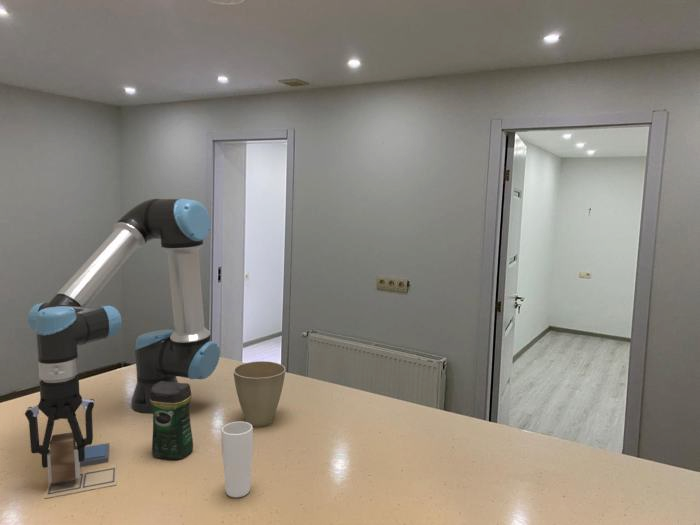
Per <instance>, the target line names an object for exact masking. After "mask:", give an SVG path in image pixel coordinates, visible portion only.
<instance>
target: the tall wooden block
mask: <svg viewBox="0 0 700 525" xmlns="http://www.w3.org/2000/svg"><path fill="white" fill-rule="evenodd" d="M75 445H77V444H76V442H75V439H74V436H73V433H72V431H71V432H67V433H59V434H52V435H51V440H50V444H49V450H50V458H51V475H52V487H56V486H61V485H67V484H72V483H75V482H76V476H75V458H74V449H75Z"/></svg>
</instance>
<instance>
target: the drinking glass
mask: <svg viewBox="0 0 700 525" xmlns="http://www.w3.org/2000/svg"><path fill="white" fill-rule="evenodd" d="M253 428H254V426H252V425H251V424H250V423H247V422H246V421H232V422H229V423H226V424H225V425H223V426H222V428H221V453H222V454H221V455H222V463H223V473H224V481H225V493H226V494H227V496H229V497H230V498H242V497H244V496H247V495H248V494H249V492H250V490H251V476H252V474H251V472H252V466H253V465H252V462H253V450H254V432H253V431H254V430H253Z"/></svg>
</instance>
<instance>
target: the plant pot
mask: <svg viewBox="0 0 700 525" xmlns="http://www.w3.org/2000/svg"><path fill="white" fill-rule="evenodd" d="M232 372H233V373H232V374H233V379H234V386H235V389H236V390H235V391H236V395H237V398H238V402H239V405H240V408H241V411H242V414H243V417H244V419H245V422H247V423H250V424H251V425H252V427H257V428H259V427H260V428H261V427H266V426H268V425H270V424H271V423H272V422H273V420H274V417H275V415H276V413H277V412H276V411H277V409H278V406H279V402H280V399H281V395H282V391H283V386H284V381H285V374H286V367H285V365H283V364H281V363H278V362H274V361H266V360H265V361H264V360H261V361H260V360H258V361H257V360H256V361H250V362H244V363H242V364H239V365H237V366H236V367H234V368H233V370H232Z"/></svg>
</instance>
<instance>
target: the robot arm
mask: <svg viewBox="0 0 700 525" xmlns="http://www.w3.org/2000/svg"><path fill="white" fill-rule="evenodd" d="M112 229H113V231H112V232H111V234H109V236H108V237H107V238H106V239H105V240H104V241H103V242H102V244H101V245H100V246H99V247H98V248H97V249H96V250H95V251H94V252H93V253H92V255H90V257H89V258H88V259H87V260H86V261H85V262H84V263H83V264H82V265H81V266H80V268H79V269H78V270H77V271H76V272H75V273H74V275H73V276H71V277H70V278H69V280H68V281H67V282H66V283H65V284H64V286H62V287H61V289H60V290H59V291H58V292H57V293H56V294H55V295H54V296H53V298H51V299H50V300H49V302H48V301H46V302H41V303H37V304H35V305H34V306H31V308H30V310H29V311H28V314H27V324H28V326H29V327H30V328H31V330H32V331H34V332H35V334H36V347H37V357H38V358H37V359H38V360H37V361H38V379H39V380H40V381H39V395H40V400H39V402H38V404H37V405H34V406H29V407H27V409H26V410H25V413H24V415H25V417H26V419H27V421H28V428H29V439H30V440H29V441H30V452H31V454H32V455H34V454H40V456H41V466H42V469H46V468H47V474H48V475H47V476H48V478H47V479H48V484H49V483H52V475H51V458H50V441H51V438H52V435H53V431H54V425H55V421H58V420H62V419H64V420H66V419H67V422H68V425H69V427H70V429H71V432H72V433H73V436H74V439H75V442H76V445H75V449H74V458H75V476H76V478H79V477H80V472H81V467H80V462H82V461H84V459H85V447H88V446H92V444H93V440H94V439H93V438H94V432H93V431H94V429H93V427H94V424H93V409H94V407H95V402H96V401H95V399H93V398H90V399H84V398H83V396H82V395H81V394H80V378H79V375H78V374H79V358H78V357H79V356H78V346H82V345H86V344H88V343H93V342H95V341H99V340H102V339H107V338H109V337H111V336H114V335H116V334H118V333H119V331H120V330H121V327H122V321H123V320H122V316H121V314H120V312H119V310H118V309H117V308H116V307H114V306H111V305H100V306H98V307H88V306H89V305H90V304H91V303H92V301H94V299H95V297H97V296H98V295H99V293H100V292H101V291H102V290H103V288H104V287H105V286H106V285H107V283H109V281H110V280H111V279H112V278H113V276H114V275H115V274H116V273H117V272H118V271H119V270H120V268H121V267H122V266H123V265H124V264H125V262H126V261H127V260H129V258H130V257H131V255H133V253H134V252H135V251H136V250H137V249H141V248H143V247H144V245H145V244H146V243H147V242H149V241H152V240H155V239H159V240H160V246H161V249H163V251H165V253H167V264H168V270H169V283H170V284H169V285H170V293H171V304H172V305H171V306H172V315H173V326H174V330H173V329H160V330H154V331H150V332H146V333H142V334H140V335H139V336H137V337H136V340H135V348H134V351H135V366H136V368H135V369H136V370H135V371H136V384H135V388H134V391H133V393H132V394H133V395H132V398H131V408H132V409H133V410H134V411H135V412H139V413H145V414H146V413H148V414H150V413H152V414H153V409H152V405H151V403H150V394H151V388H152V386H153V385H155V384H156V383H158V382H160V381H165V382H175V383H179V381H178V379H177V377H179V378H180V377H181V378H185V379H190V380H205V379H207V378H209V377H210V376H211V375H212V374H213V373H214V371H216V368H217V366H218V364H219V361H220V357H221V350H220V346H219V345H218V343H217V342H216V341H214V340H212V339H211V331H210V330H209V329H207V328H206V327H205V319H204V318H205V316H204V302H203V293H202V279H201V278H202V277H201V268H200V257H199V256H200V254H199V250H200V249H201V248H202V247H203V246H204V240H206V238H208V236H209V235H210V234H209V232H210V230H211V218H210V215H209V212H208V210H207V208H206V207H205V206H204V205H203V204H202V203H201V202H200V201H198V200H194V199H187V198H151V199H147V200H144V201H142V202H140V203H139V204H137V205H135V206H134V207H132V208H130V209H129V210H128V211H127V212H125V214H123V216H122V217H120V219H118V221H117V222H115V224H114V225H113V228H112ZM80 406H82V409H83V410H84V411H85V414H84V416H85V420H84V421H85V438H84V435H83V434H82V430H81V428H80V424H79V422H78V418H77V414H76V412H77V410H78V409H79V408H80ZM39 411H40V412H42V413H43V415H45V416H46V417H47V420H46V421H47V422H46V427H45V431H44V432H45V433H44V437H43V441H42V444H40V438H39V437H40V434H39V423H38V415H39V413H40V412H39Z"/></svg>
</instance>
